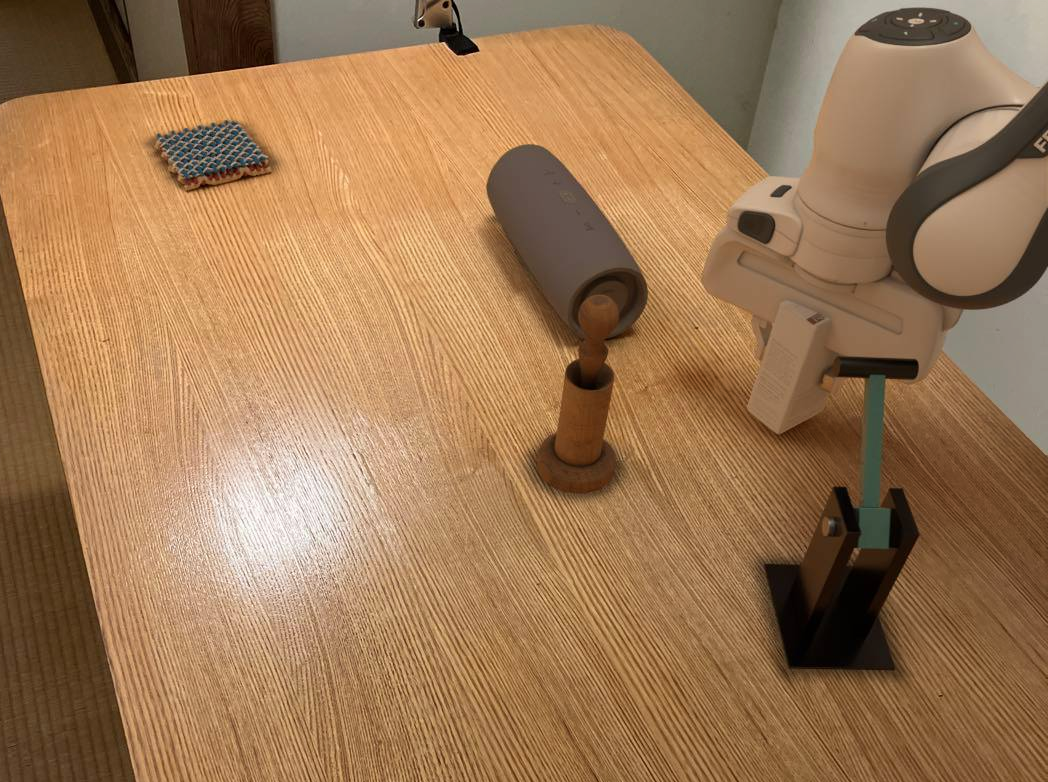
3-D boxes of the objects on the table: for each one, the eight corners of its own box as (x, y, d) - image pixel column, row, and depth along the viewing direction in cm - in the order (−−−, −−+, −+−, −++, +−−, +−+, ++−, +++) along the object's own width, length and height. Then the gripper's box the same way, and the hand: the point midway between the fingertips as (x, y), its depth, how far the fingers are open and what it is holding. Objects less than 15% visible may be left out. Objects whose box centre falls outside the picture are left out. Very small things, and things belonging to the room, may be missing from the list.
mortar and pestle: (572, 513, 89) (599, 338, 76) (520, 470, 92) (537, 294, 79) (628, 479, 92) (663, 305, 79) (576, 438, 95) (601, 263, 82)
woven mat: (184, 195, 117) (181, 178, 116) (153, 150, 123) (150, 133, 122) (274, 175, 121) (273, 158, 120) (240, 132, 127) (238, 115, 126)
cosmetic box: (789, 386, 99) (827, 274, 90) (826, 414, 96) (868, 302, 87) (742, 411, 96) (776, 298, 87) (778, 440, 94) (817, 327, 85)
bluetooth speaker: (645, 343, 105) (662, 254, 98) (557, 359, 102) (567, 269, 95) (559, 219, 119) (568, 133, 111) (479, 230, 116) (483, 144, 109)
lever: (830, 357, 75) (843, 354, 73) (907, 360, 75) (922, 357, 73) (821, 545, 76) (834, 548, 73) (897, 547, 76) (912, 549, 74)
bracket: (760, 573, 86) (803, 457, 76) (858, 575, 86) (912, 460, 77) (784, 676, 79) (834, 564, 70) (890, 678, 80) (954, 566, 70)
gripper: (989, 267, 81) (924, 407, 91) (748, 170, 88) (713, 309, 98) (959, 304, 77) (895, 446, 87) (710, 200, 84) (678, 342, 95)
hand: (797, 373), depth 93 cm, fingers closed on cosmetic box, 5 cm apart
